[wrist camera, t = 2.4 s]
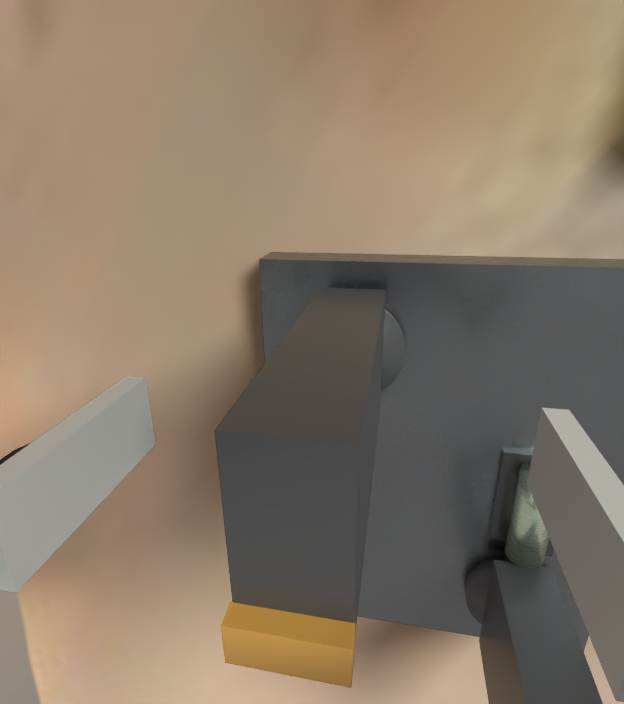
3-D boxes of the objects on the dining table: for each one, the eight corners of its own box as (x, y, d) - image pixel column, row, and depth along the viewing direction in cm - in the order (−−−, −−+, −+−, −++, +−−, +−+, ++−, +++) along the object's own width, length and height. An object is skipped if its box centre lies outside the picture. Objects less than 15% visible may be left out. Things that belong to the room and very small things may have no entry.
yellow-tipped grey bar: (303, 281, 21) (151, 442, 8) (409, 285, 20) (415, 471, 7) (305, 397, 23) (187, 660, 11) (401, 405, 22) (395, 702, 10)
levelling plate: (270, 252, 23) (246, 266, 19) (674, 260, 19) (732, 279, 16) (285, 577, 31) (270, 628, 27) (571, 622, 27) (594, 687, 24)
